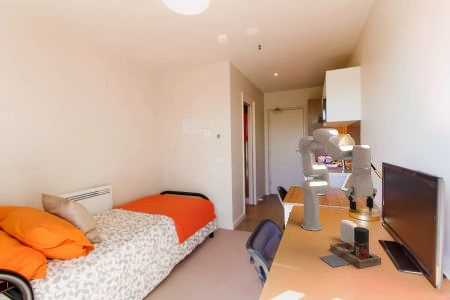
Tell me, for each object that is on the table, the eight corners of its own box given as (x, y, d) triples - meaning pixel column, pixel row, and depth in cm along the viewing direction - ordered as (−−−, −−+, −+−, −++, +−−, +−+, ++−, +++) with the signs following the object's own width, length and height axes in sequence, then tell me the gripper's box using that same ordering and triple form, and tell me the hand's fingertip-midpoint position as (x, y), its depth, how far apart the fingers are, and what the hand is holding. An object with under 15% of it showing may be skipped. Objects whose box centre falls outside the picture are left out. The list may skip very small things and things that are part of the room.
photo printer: (339, 239, 126) (339, 218, 126) (345, 238, 127) (345, 217, 127) (353, 247, 116) (353, 224, 116) (360, 246, 117) (360, 223, 117)
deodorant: (370, 261, 103) (370, 229, 103) (367, 266, 99) (367, 233, 99) (356, 256, 107) (356, 226, 107) (352, 261, 103) (352, 229, 103)
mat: (319, 257, 107) (319, 257, 107) (335, 255, 109) (335, 254, 109) (333, 267, 98) (333, 266, 98) (349, 264, 100) (349, 263, 100)
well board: (330, 250, 114) (330, 244, 114) (349, 246, 118) (349, 241, 117) (359, 268, 97) (359, 262, 97) (381, 264, 100) (381, 257, 100)
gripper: (368, 170, 108) (369, 204, 108) (339, 171, 104) (339, 208, 104) (383, 171, 101) (383, 209, 101) (352, 173, 96) (352, 212, 97)
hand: (361, 208), depth 102 cm, fingers open, 9 cm apart
